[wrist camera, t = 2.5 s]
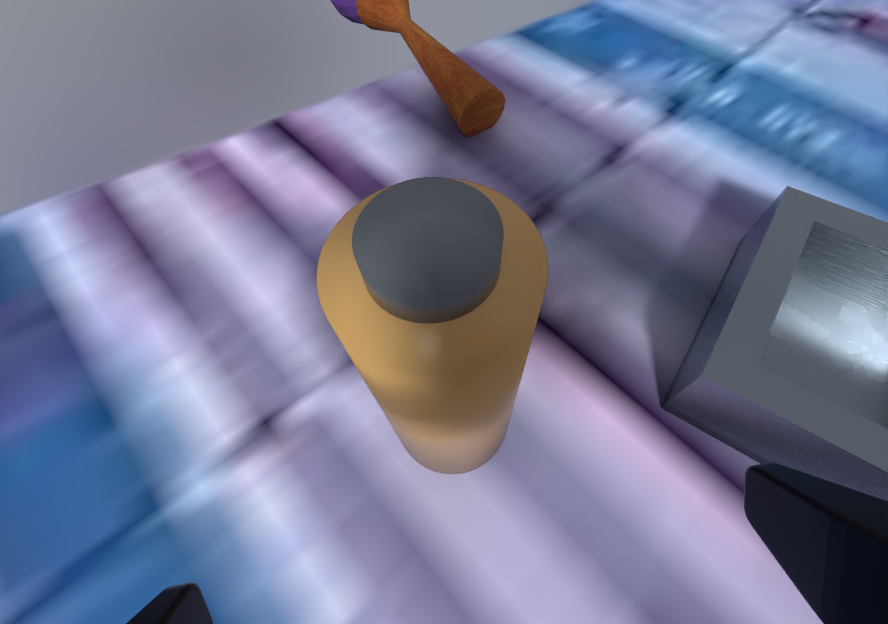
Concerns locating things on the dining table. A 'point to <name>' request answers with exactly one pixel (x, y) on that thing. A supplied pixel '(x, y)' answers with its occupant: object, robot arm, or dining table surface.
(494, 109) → the kendama
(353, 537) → the dining table surface
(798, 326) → the gray square dish
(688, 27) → the dining table surface
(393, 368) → the tan cylinder
